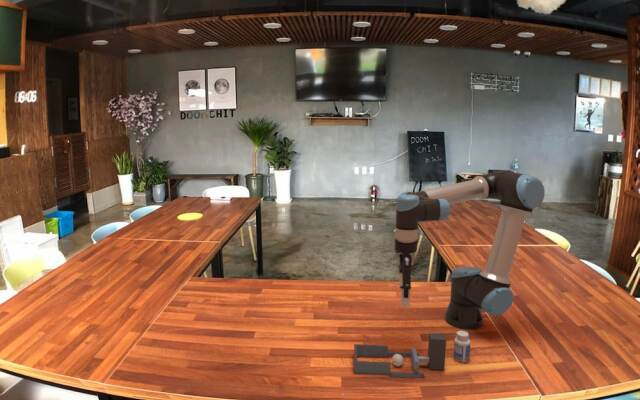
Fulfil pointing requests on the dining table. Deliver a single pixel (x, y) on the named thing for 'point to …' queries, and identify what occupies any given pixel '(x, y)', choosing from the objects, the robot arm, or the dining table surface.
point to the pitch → (379, 367)
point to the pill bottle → (462, 347)
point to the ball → (397, 360)
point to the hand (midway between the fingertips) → (403, 297)
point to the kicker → (432, 353)
